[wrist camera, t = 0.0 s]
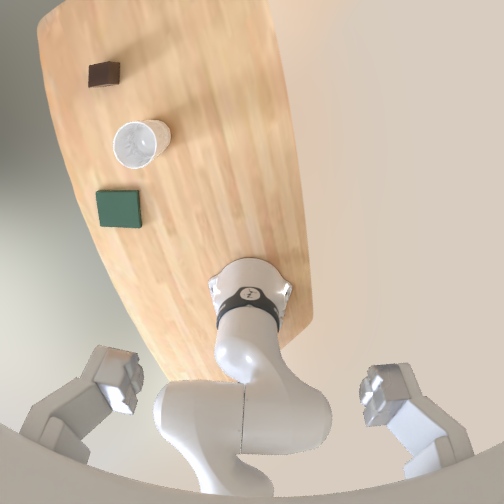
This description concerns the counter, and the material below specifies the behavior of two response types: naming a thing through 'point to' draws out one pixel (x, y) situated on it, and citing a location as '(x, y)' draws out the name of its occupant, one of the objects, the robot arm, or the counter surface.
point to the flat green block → (119, 208)
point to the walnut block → (103, 74)
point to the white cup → (141, 142)
